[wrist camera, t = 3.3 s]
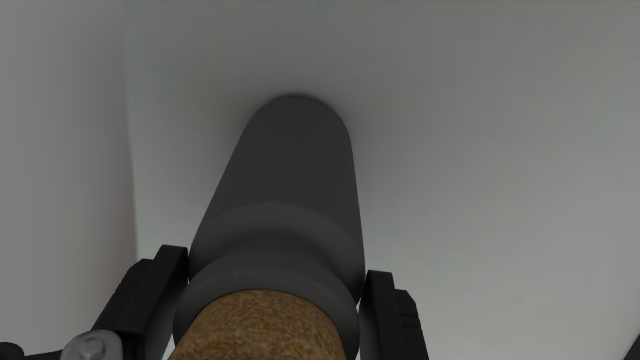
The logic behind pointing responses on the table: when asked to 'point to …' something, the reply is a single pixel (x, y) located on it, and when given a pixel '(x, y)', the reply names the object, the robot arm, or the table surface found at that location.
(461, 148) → the table surface
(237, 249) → the bottle
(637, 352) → the scale
